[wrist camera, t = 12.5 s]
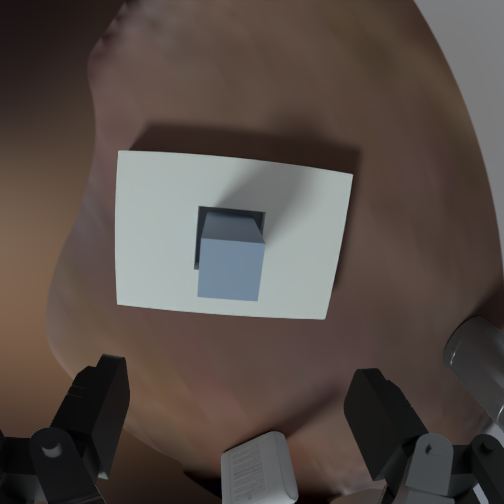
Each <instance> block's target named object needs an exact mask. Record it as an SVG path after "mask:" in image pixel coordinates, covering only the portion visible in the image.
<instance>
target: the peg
mask: <svg viewBox="0 0 504 504" xmlns="http://www.w3.org/2000/svg"><path fill="white" fill-rule="evenodd" d="M264 251H265V242H264V240H263V237H262V235H261V233H260V231H259V229H258V227H257V224H256V222H255V220H254V218H253V216H252V215H242V214H231V213H220V212H209V211H207V216H206V220H205V224H204V228H203V232H202V237H201V247H200V261H199V277H198V294H197V297H203V298H216V299H229V300H243V301H258V295H259V288H260V281H261V273H262V266H263V258H264Z"/></svg>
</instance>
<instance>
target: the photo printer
mask: <svg viewBox="0 0 504 504" xmlns="http://www.w3.org/2000/svg"><path fill="white" fill-rule="evenodd" d="M221 472H222V503H223V504H293V503H294V502H296V501H297V499H298V491H297V486H296V481H295V477H294V472H293V467H292V463H291V458H290V454H289V449H288V445H287V442H286V439H285V436H284V435H283V434H282V433H280V432H277V431H274V432H273V431H271V432H268V433H266V434H263V435H261V436H259V437H257V438H255V439H253V440H251V441H248V442H246V443H244V444H242V445H240V446H237V447H235V448H233V449H231V450H229V451H227V452H225V453H223V454H222V455H221Z"/></svg>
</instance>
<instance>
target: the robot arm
mask: <svg viewBox="0 0 504 504" xmlns="http://www.w3.org/2000/svg"><path fill="white" fill-rule="evenodd" d="M444 363H445V365H446V366H447V367H448V368H449V369H450V371H451V372H452V373H453V374H454V375H455V376H456V377H457V378H458V380H459V381H460V382H461V383H462V384H463V385H464V387H465V388H466V389H467V390H468V391H469V392H470V393H471V394H472V396H473V397H474V398H475V399H476V400H477V401H478V403H479V404H480V405H481V406H482V407H483V408H484V410H485V411H486V412H487V413H488V414H489V416H490V417H491V418H492V419H493V420H494V422H495V423H496V424H497V425H498V426H499V427H500V429H501V430H502V431H503V432H504V333H502V332H501V331H500V330H499V329H498V328H496V327H495V326H494V325H492V324H491V323H490V322H489V321H487V320H486V319H485V318H483V317H481V316H476V317H473V318H470V319H469V320H467V321H466V322H464V323H463V324H462V325H461V326H460V327H459V328H458V329H457V330H456V331H455V333H454V334H453V335H452V337H451V338H450V340H449V342H448V344H447V346H446V349H445V352H444ZM129 401H130V389H129V382H128V374H127V366H126V360H125V358H124V357H120V356H113V355H107V354H103V355H102V356H101V358H100V360H99V362H98V364H97V366H96V367H92V366H87V367H86V368H84V369H83V370H82V371H81V372H79V373H78V374H77V376H76V377H75V379H74V381H73V383H72V386H71V387H70V388H69V390H68V392H67V395H66V396H65V398H64V400H63V402H62V404H61V405H60V408H59V409H58V411H57V413H56V415H55V417H54V419H53V421H52V423H51V425H50V427H46V428H42V429H40V430H38V431H36V432H35V433H34V434H33V435H32V436H31V437H30V438H16V437H5V436H4V435H3V433H2V432H1V430H0V504H34V501H35V500H36V501H47V502H48V504H106V503H105V501H104V499H103V498H102V496H101V494H100V493H99V491H98V490H97V488H96V486H95V485H96V481H97V478H98V477H100V478H104V479H108V478H109V474H110V470H111V466H112V463H113V458H114V455H115V452H116V448H117V444H118V441H119V437H120V434H121V431H122V427H123V424H124V420H125V417H126V414H127V410H128V407H129ZM344 414H345V417H346V419H347V421H348V424H349V426H350V428H351V431H352V433H353V435H354V438H355V440H356V442H357V445H358V447H359V449H360V452H361V454H362V456H363V459H364V461H365V464H366V466H367V468H368V471H369V473H370V475H371V478H372V480H373V481H377V480H382V479H385V480H386V482H387V484H386V485H385V487H384V489H383V491H382V494H381V496H380V499H379V501H378V504H480V502H479V500H478V498H477V496H476V494H475V493H474V490H473V488H474V487H475V486H476V485H477V484H478V483H479V485H480V487H481V488H482V490H483V492H484V494H485V496H486V497H487V499H488V502H489V504H504V448H503V447H502V445H501V444H500V442H499V441H498V440H497V439H496V438H494V437H493V436H491V435H488V434H479V435H477V436H475V437H474V439H473V440H472V441H471V443H470V444H469V445H451V443H450V442H449V441H448V440H447V439H446V438H445V437H443V436H441V435H439V434H434V433H429V432H428V431H427V429H426V427H425V426H424V424H423V423H422V421H421V420H420V418H419V417H418V415H417V414H416V412H415V411H414V409H413V408H412V407H411V405H410V403H409V402H408V400H407V399H406V397H405V396H404V394H403V393H402V391H401V390H400V388H399V387H397V386H396V385H395V384H394V383H392V382H391V381H390V380H386V379H385V378H384V376H383V375H382V373H381V372H380V370H379V369H378V368H368V369H358V370H356V372H355V373H354V376H353V379H352V382H351V384H350V387H349V390H348V392H347V395H346V398H345V401H344Z"/></svg>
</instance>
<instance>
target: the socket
mask: <svg viewBox="0 0 504 504" xmlns="http://www.w3.org/2000/svg"><path fill="white" fill-rule="evenodd" d="M352 178H353V174H348V173H343V172H338V171H332V170H326V169H320V168H313V167H307V166H300V165H293V164H286V163H278V162H270V161H262V160H254V159H245V158H235V157H225V156H214V155H202V154H189V153H173V152H155V151H118V165H117V181H116V206H115V263H116V289H117V304H119V305H128V306H136V307H146V308H155V309H165V310H175V311H186V312H198V313H211V314H224V315H239V316H256V317H275V318H299V319H325V317H326V313H327V309H328V304H329V300H330V296H331V291H332V287H333V282H334V277H335V273H336V268H337V263H338V258H339V253H340V248H341V243H342V238H343V232H344V227H345V221H346V215H347V210H348V204H349V197H350V191H351V185H352ZM207 211H209V212H220V213H231V214H242V215H252V216H253V218H254V220H255V222H256V224H257V227H258V229H259V231H260V233H261V235H262V237H263V240H264V242H265V251H264V258H263V266H262V273H261V281H260V288H259V295H258V301H243V300H229V299H216V298H203V297H197V294H198V277H199V261H200V247H201V237H202V232H203V228H204V224H205V220H206V216H207Z"/></svg>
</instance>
